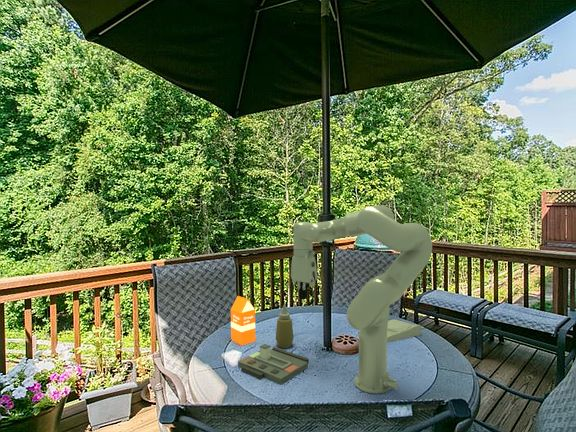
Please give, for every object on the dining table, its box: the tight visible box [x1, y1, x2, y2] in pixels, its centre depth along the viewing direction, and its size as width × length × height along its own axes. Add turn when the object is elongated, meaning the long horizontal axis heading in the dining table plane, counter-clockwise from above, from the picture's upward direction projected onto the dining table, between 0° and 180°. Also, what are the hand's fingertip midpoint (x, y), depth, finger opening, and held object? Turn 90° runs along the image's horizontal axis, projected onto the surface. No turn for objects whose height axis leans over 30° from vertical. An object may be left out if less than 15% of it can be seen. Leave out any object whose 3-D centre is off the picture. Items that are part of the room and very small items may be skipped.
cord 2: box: [271, 346, 310, 364], centre depth 147 cm, size 18×2×2 cm, turn 51°
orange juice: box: [230, 295, 256, 346], centre depth 164 cm, size 8×9×20 cm
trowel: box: [387, 318, 422, 343], centre depth 169 cm, size 28×16×5 cm, turn 94°
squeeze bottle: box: [275, 305, 295, 349], centre depth 158 cm, size 8×8×18 cm
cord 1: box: [240, 366, 265, 380], centre depth 133 cm, size 10×2×2 cm, turn 51°
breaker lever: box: [259, 343, 272, 360], centre depth 141 cm, size 3×3×5 cm
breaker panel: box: [237, 349, 309, 385], centre depth 139 cm, size 22×16×3 cm
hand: (303, 298), depth 143 cm, fingers closed
